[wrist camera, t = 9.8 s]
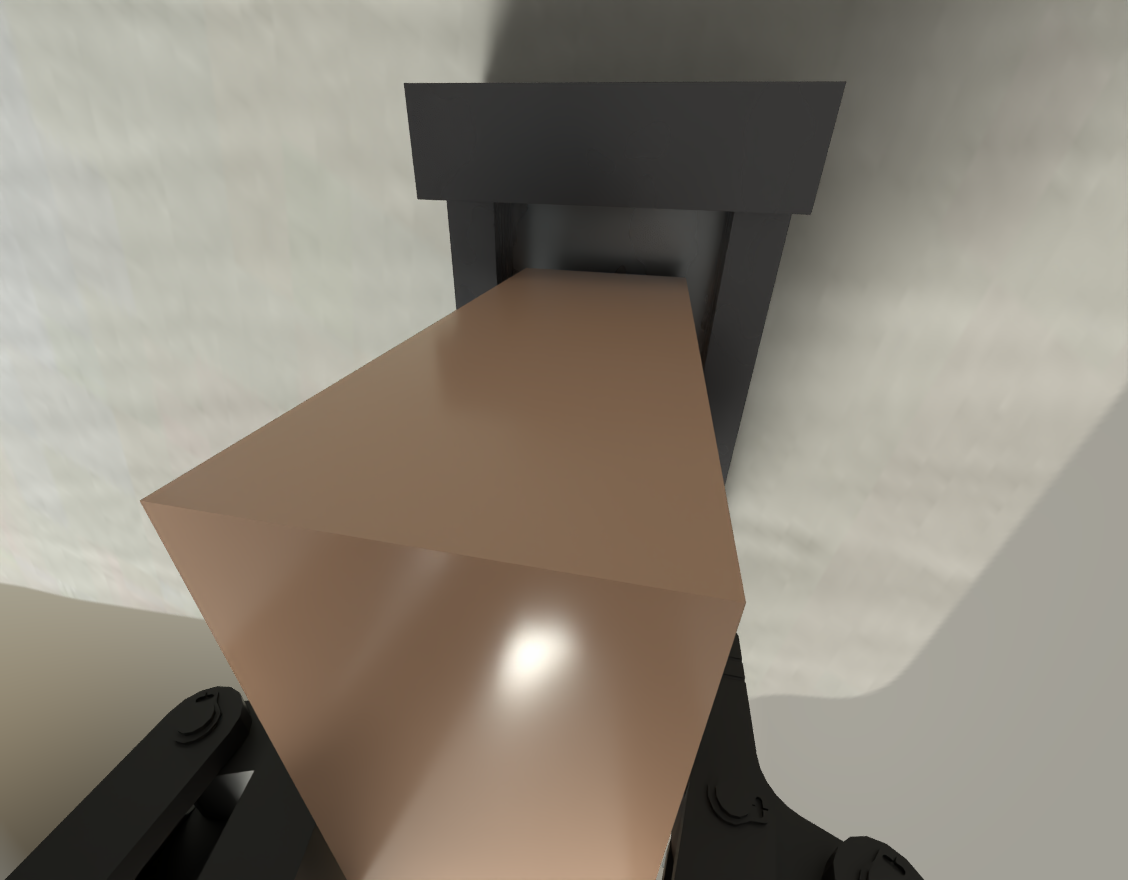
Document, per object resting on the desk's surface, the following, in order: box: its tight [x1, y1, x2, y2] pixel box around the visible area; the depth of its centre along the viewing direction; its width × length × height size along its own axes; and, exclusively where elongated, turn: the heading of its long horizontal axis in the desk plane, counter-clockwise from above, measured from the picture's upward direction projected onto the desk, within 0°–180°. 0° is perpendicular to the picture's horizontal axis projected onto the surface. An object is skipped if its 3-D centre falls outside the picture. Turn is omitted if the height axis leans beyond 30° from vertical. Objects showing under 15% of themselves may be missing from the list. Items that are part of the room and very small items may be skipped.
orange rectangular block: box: [140, 268, 746, 880], centre depth 11 cm, size 14×4×10 cm, turn 179°
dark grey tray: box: [404, 82, 846, 486], centre depth 15 cm, size 21×8×4 cm, turn 179°
